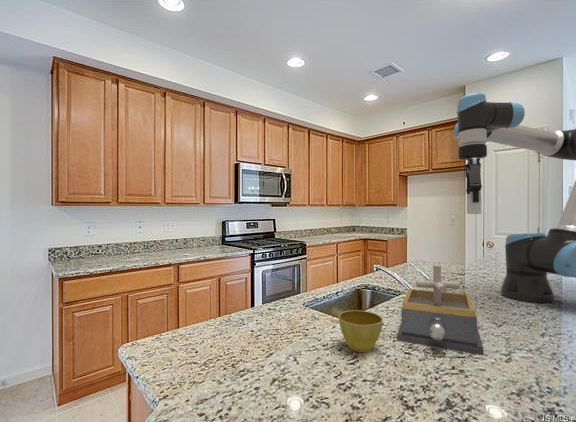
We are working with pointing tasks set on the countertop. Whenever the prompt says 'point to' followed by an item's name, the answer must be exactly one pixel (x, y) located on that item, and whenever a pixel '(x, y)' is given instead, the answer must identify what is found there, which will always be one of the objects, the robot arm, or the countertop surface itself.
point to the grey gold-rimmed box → (440, 321)
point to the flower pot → (360, 329)
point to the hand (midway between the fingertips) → (473, 213)
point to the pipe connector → (437, 284)
